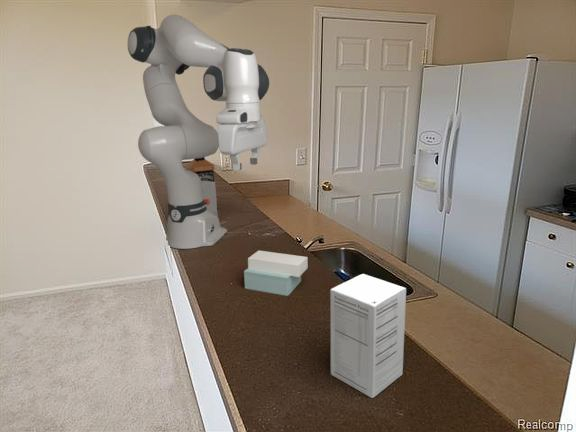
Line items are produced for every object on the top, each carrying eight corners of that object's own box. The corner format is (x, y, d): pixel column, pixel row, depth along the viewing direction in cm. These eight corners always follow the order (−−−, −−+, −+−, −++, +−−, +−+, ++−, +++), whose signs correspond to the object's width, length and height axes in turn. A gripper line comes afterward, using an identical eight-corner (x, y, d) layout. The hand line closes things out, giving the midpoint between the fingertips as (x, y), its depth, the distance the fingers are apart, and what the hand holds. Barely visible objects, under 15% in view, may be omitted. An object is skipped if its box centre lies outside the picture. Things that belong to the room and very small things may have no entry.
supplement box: (404, 374, 76) (409, 287, 71) (372, 400, 70) (376, 307, 65) (360, 352, 83) (362, 271, 78) (328, 374, 77) (328, 287, 72)
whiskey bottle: (195, 214, 179) (188, 136, 170) (189, 209, 188) (182, 134, 179) (219, 210, 184) (213, 135, 175) (211, 205, 192) (206, 133, 183)
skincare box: (206, 218, 174) (203, 180, 169) (219, 220, 170) (216, 181, 166) (192, 223, 167) (188, 184, 162) (205, 225, 163) (201, 185, 159)
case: (260, 274, 119) (259, 258, 117) (301, 281, 114) (300, 264, 113) (244, 288, 111) (243, 271, 109) (287, 295, 106) (287, 278, 105)
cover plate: (259, 260, 116) (258, 250, 115) (307, 267, 110) (307, 257, 109) (248, 269, 110) (247, 258, 110) (299, 277, 105) (298, 265, 104)
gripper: (251, 112, 122) (253, 160, 126) (212, 116, 104) (216, 173, 108) (271, 112, 120) (273, 161, 124) (234, 116, 102) (237, 174, 106)
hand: (246, 167), depth 116 cm, fingers open, 8 cm apart
